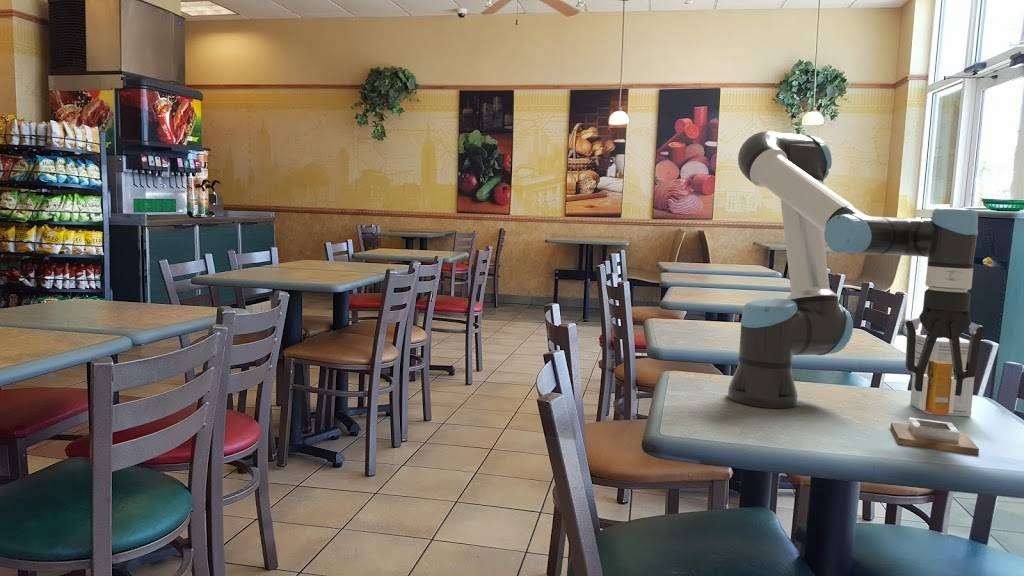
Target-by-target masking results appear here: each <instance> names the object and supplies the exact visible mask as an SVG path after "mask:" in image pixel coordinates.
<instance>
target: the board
mask: <svg viewBox="0 0 1024 576" xmlns="http://www.w3.org/2000/svg"><path fill="white" fill-rule="evenodd" d="M908 424H909V423H908ZM908 424H907V423H899V422H894V421H892V422H890V430H891V432H892V434H893V436H894V438H895V440H896V442H897V444H898V445H900V446H901V445H903V446H910V447H917V448H924V449H931V450H937V451H938V450H939V451H944V450H945V452H952V453H961V454H967V455H973V456H979V451H980V448H979V447H978V446H977V444H976V443H975V442H974V441H973V440H972V439H971V437H970V436H969V435H968V433H966V432H965V431H961V430H960V431H959V430H958V431H959V432H960V436H959V443H954V442H947V441H940V440H932V439H925V438H918V437H914V436H913V435H912V433H911V431H910V429H909V428H908Z"/></svg>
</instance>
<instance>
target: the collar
mask: <svg viewBox="0 0 1024 576" xmlns="http://www.w3.org/2000/svg"><path fill="white" fill-rule="evenodd" d="M908 428H909V429H910V431H911V433H912V435H913V436H914V437H918V438H925V439H932V440H940V441H947V442H954V443H959V436H960V432H959V430H958V429H957V427H956V426H955V425H954V424H953V423H952V422H950V421H949V422H948V421H939V420H932V419H926V418H925V419H924V418H917V417H909V418H908Z"/></svg>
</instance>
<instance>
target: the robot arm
mask: <svg viewBox="0 0 1024 576" xmlns="http://www.w3.org/2000/svg"><path fill="white" fill-rule="evenodd" d="M737 156H738V157H737V162H738V163H737V165H738V167H739V170H740V171H741V173H742V174H743V176H744V177H745V178H746V179H747V180H749V181H750V182H751V183H752V184H754V185H755V186H757V187H759V188H766V189H768V190H769V191H770V192H771V193H773V195H775V196H776V197H778V198H779V199H780V207H781V216H782V223H783V231H784V240H785V250H786V260H787V267H788V268H787V270H788V276H789V283H790V284H789V285H790V294H789V295H788V296H787V298H785V299H784V298H762V299H757V300H756V299H755V300H752V301H749V302H747V303H746V304H745V305H744V306H743V309H742V313H741V314H742V315H741V318H740V337H739V338H740V339H739V349H738V362H737V367H736V369H735V371H734V374H733V375H732V378H731V381H730V383H729V385H728V389H727V391H728V392H727V397H728V398H729V399H730V400H732V401H734V402H735V403H740V404H744V405H747V406H751V407H752V406H753V407H758V408H765V409H767V408H768V409H790V408H794V407H796V406H797V405H798V393H797V392H798V391H797V387H796V385H795V380H794V376H793V372H792V368H793V367H792V366H793V365H792V364H793V357H794V356H811V355H812V356H813V355H814V356H825V355H831V354H837V353H838V352H840V351H841V350H844V348H846V345H847V344H848V343H849V342H850V341H851V338H852V336H853V331H854V322H853V318H852V316H851V313H850V312H849V311H847V309H846V307H844V306H841V305H840V302H839V295H838V294H837V293H835V292H834V291H833V290H832V289H831V287H830V280H829V273H828V272H829V271H828V263H827V256H826V247H825V242H826V246H827V247H828V248H829V249H830V250H831V251H832V252H836V253H840V254H846V255H878V256H879V255H880V256H881V255H882V256H883V255H885V256H897V257H898V256H900V257H901V256H903V257H904V256H906V257H907V256H908V257H924V258H926V257H927V264H926V265H927V267H926V276H925V285H924V286H926V287H928V288H927V289H925V290H924V294H923V305H922V306H923V307H922V311H921V313H920V314H919V317H916V318H912V319H909V318H908V319H905V320H904V322H903V323H904V327H905V330H906V349H905V350H906V351H905V368H906V369H907V370H908V371H909V372H912V373H913V372H914V373H915V384H914V388H915V390H916V391H920V396H919V408H920V409H921V410H925V407H926V397H927V387H928V376H927V375H926V374H924V373H925V370H926V367H927V364H928V362H929V359H930V356H931V353H932V350H933V347H934V344H935V342H936V340H937V338H943V337H944V338H947V339H949V343H950V349H951V357H952V364H953V372H954V377H951V387H950V397H949V407H948V413H953V409H954V399H955V395H956V396H960V395H961V393H962V383H963V380H964V379H965V378H969V377H974V378H975V377H976V371H977V364H978V359H979V353H980V347H981V340H982V338H983V336H984V335H985V333H986V332H987V329H986V327H985V326H983V325H980V324H977V323H975V322H972V320H971V317H970V306H971V295H972V294H970V292H968V290H971V289H972V287H973V285H972V284H973V276H974V261H975V252H976V248H977V247H976V246H977V239H978V235H979V230H978V227H979V226H978V225H979V215H978V212H977V211H976V210H975V209H972V208H962V207H961V208H959V207H956V208H955V207H940V208H935V209H934V210H933V211H932V213H931V217H930V218H910V217H890V216H889V217H885V216H876V215H875V216H873V215H868V214H866V213H864V212H862V211H861V210H859V209H858V208H856V206H854V205H853V204H851V203H850V202H849V201H847V200H846V199H844V198H843V197H841V196H840V195H838V194H837V193H835V192H834V191H832V190H831V189H830V188H828V187H827V186H825V185H824V184H825V183H824V182H825V181H824V180H825V179H826V178H827V177H828V176H829V174H830V171H829V170H830V169H832V162H833V161H832V154H831V150H830V148H829V146H828V144H827V143H826V142H825V141H824V140H822V139H821V138H819V137H817V136H813V135H812V136H811V135H808V134H805V133H804V134H803V133H800V134H798V133H786V132H778V131H777V132H776V131H768V130H767V131H761V132H757V133H754V134H752V135H751V136H750V137H748V138H747V139H746V140H745V141H744V142H743V144H741V147H740V148H739V151H738V155H737ZM920 325H922V326H923V328H924V330H925V331H926V332H927V333H926V335H927V336H926V340H925V343H924V346H923V349H922V352H921V355H920V358H919V361H918V364H917V366H915V345H916V335H917V330H919V328H920ZM968 328H969V329H968ZM966 329H968V331H969V332H968V333H969V334H970V337H969V341H970V342H969V349H968V355H967V362H966V368H965V370H963V367H962V359H961V351H960V340H959V337H960V335H961V334H963V333H964V332H965V331H966ZM920 409H919V410H920ZM921 410H920V411H921Z"/></svg>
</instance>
